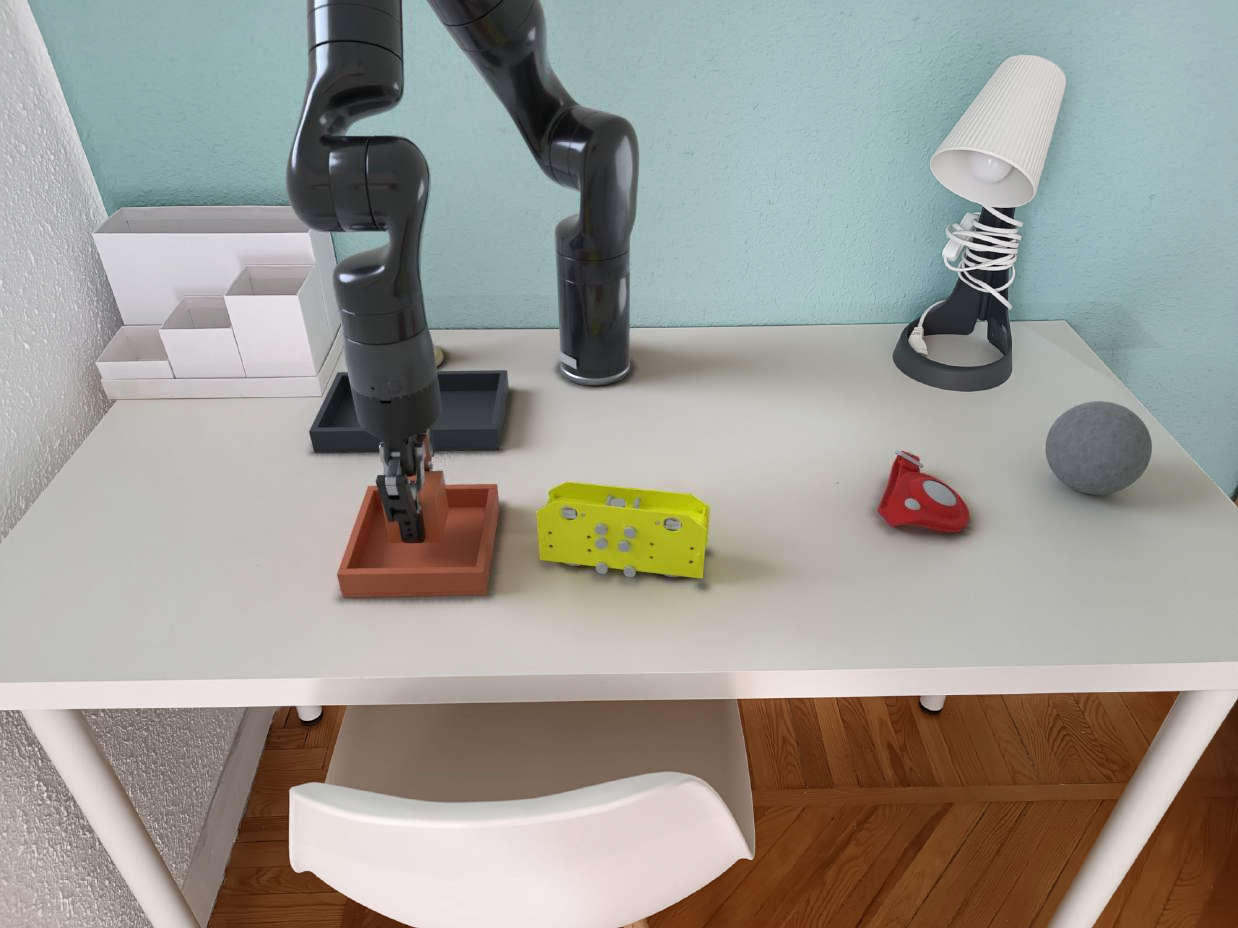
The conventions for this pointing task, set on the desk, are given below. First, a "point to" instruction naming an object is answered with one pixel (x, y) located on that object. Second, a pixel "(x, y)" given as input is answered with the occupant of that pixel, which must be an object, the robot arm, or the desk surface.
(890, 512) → the tracker holder
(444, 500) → the terracotta block
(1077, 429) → the decorative ball
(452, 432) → the charcoal tray
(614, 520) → the yellow toy chassis
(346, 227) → the robot arm
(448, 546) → the terracotta tray
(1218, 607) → the desk surface
